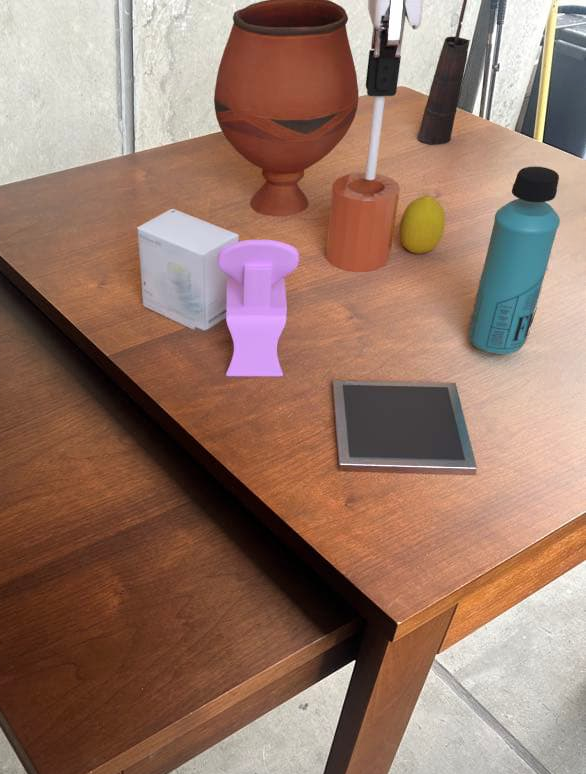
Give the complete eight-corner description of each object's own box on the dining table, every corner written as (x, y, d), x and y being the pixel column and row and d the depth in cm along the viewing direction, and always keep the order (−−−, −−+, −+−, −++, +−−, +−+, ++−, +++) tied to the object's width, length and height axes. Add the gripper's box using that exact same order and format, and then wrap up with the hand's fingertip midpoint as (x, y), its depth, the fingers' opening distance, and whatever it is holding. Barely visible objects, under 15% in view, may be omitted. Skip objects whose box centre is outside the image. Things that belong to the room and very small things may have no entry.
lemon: (392, 262, 112) (402, 202, 107) (398, 243, 116) (408, 184, 110) (435, 268, 111) (447, 207, 105) (440, 248, 115) (452, 189, 109)
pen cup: (384, 248, 115) (396, 172, 108) (390, 277, 110) (402, 200, 103) (324, 247, 116) (331, 172, 109) (326, 277, 110) (334, 200, 103)
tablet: (454, 389, 93) (456, 381, 92) (475, 475, 83) (477, 467, 82) (331, 386, 93) (332, 379, 93) (338, 471, 84) (339, 463, 83)
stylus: (374, 176, 105) (391, 38, 95) (375, 180, 104) (392, 41, 94) (364, 176, 105) (380, 38, 95) (365, 180, 104) (381, 42, 94)
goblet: (317, 173, 133) (333, -15, 115) (367, 227, 120) (394, 24, 102) (197, 189, 130) (195, -1, 112) (235, 247, 117) (240, 41, 99)
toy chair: (289, 333, 101) (297, 208, 90) (292, 376, 95) (302, 247, 84) (218, 333, 102) (218, 208, 91) (216, 376, 95) (217, 248, 85)
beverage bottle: (509, 373, 94) (562, 192, 80) (452, 353, 97) (493, 175, 83) (532, 346, 98) (586, 168, 84) (476, 328, 101) (520, 153, 87)
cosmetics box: (140, 307, 106) (134, 225, 99) (175, 287, 109) (173, 206, 102) (203, 337, 101) (203, 253, 94) (239, 315, 104) (241, 232, 97)
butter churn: (440, 157, 136) (479, -55, 116) (391, 141, 141) (421, -65, 121) (474, 141, 140) (517, -66, 120) (425, 126, 145) (460, -75, 125)
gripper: (454, -95, 79) (422, 116, 92) (432, -123, 90) (406, 70, 103) (371, -93, 80) (351, 117, 93) (360, -121, 91) (343, 70, 104)
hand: (380, 91), depth 98 cm, fingers closed on stylus, 1 cm apart
